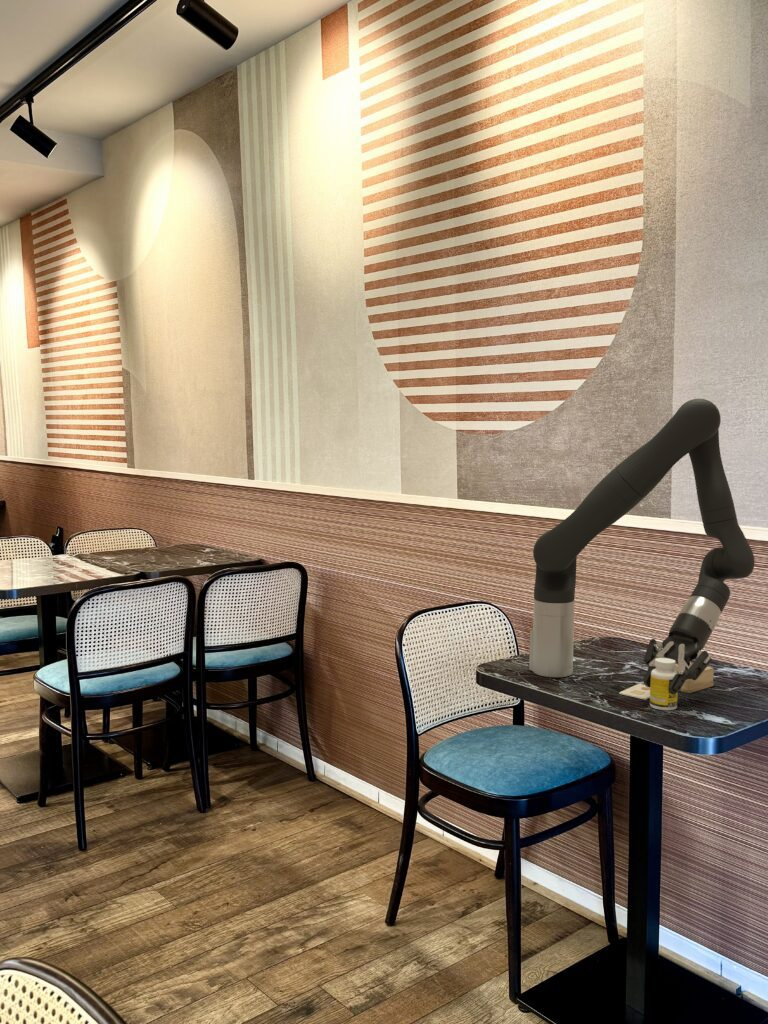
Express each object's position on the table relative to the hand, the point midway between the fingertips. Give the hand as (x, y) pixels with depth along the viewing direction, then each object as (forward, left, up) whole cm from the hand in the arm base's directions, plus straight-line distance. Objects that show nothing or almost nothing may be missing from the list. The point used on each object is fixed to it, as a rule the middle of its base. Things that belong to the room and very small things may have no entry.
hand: (658, 688), depth 182 cm
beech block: (-7, +19, -4) cm, 21 cm away
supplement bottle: (0, +2, -4) cm, 5 cm away
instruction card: (-9, +7, -4) cm, 12 cm away
